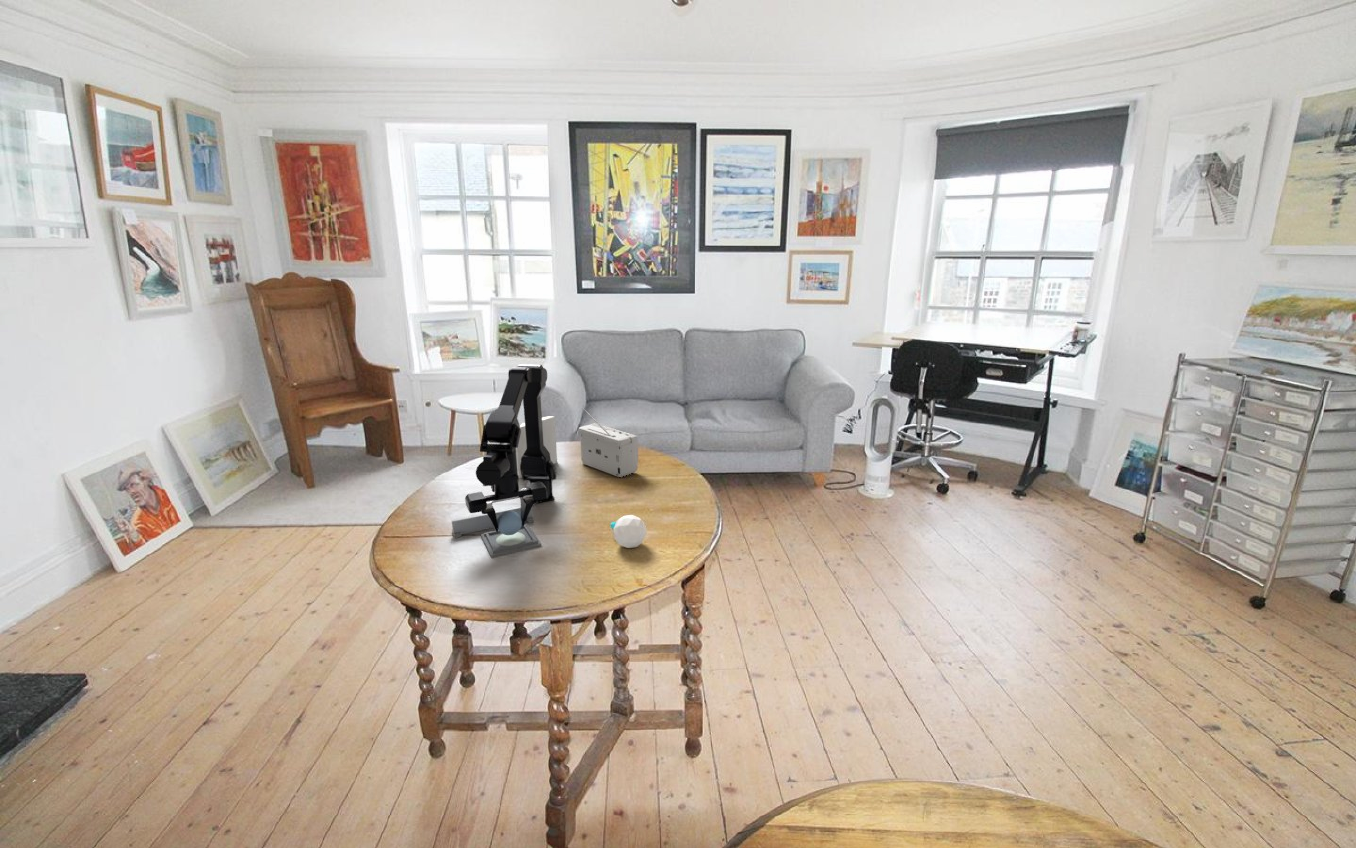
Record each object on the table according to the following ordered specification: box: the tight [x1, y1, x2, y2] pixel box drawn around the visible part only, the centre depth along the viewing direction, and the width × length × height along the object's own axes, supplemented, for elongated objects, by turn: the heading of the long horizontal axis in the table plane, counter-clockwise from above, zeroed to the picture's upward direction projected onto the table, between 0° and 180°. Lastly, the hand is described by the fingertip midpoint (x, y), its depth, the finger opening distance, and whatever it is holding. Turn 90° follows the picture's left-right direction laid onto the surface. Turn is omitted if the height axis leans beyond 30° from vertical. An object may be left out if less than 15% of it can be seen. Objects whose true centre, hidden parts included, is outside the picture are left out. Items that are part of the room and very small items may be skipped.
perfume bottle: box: [610, 514, 647, 549], centre depth 146 cm, size 8×8×12 cm
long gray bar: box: [451, 505, 535, 539], centre depth 154 cm, size 20×4×4 cm, turn 119°
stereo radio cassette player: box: [578, 407, 639, 478], centre depth 192 cm, size 21×8×20 cm, turn 49°
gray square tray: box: [480, 523, 542, 558], centre depth 147 cm, size 12×12×1 cm
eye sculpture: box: [516, 415, 558, 479], centre depth 194 cm, size 17×12×16 cm
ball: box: [497, 511, 522, 535], centre depth 145 cm, size 6×6×6 cm
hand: (509, 528), depth 146 cm, fingers closed on ball, 6 cm apart
